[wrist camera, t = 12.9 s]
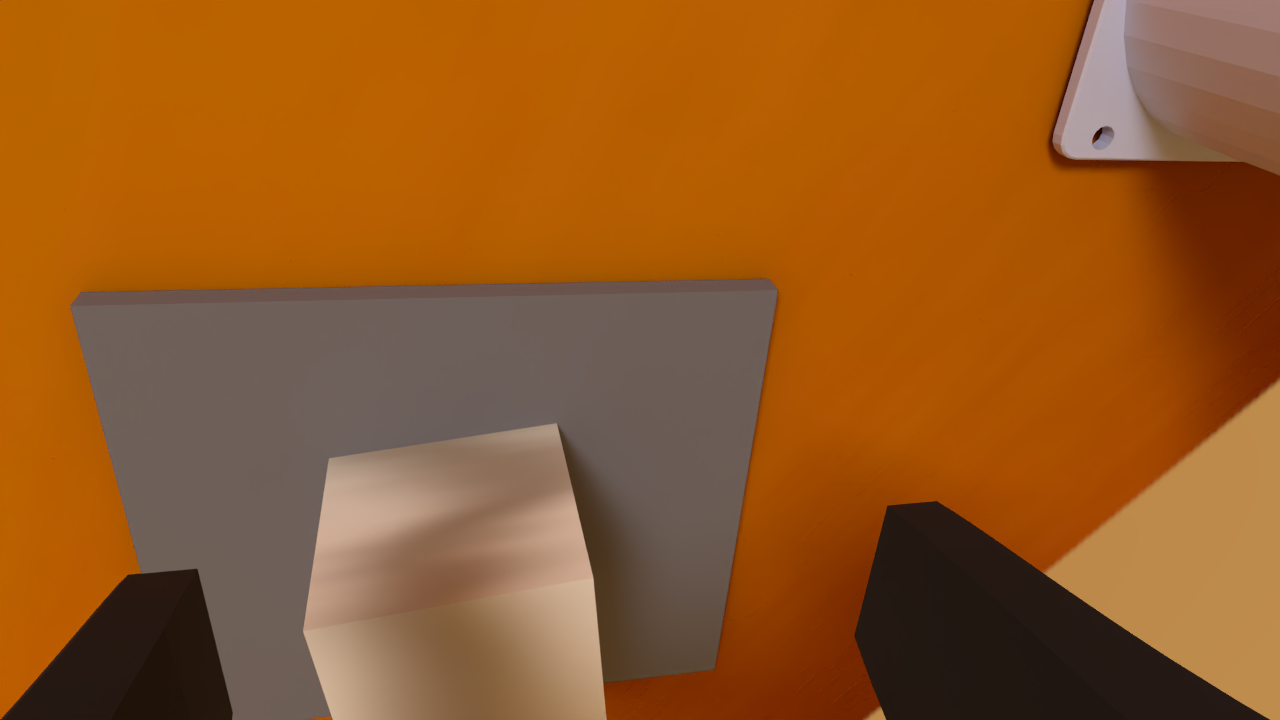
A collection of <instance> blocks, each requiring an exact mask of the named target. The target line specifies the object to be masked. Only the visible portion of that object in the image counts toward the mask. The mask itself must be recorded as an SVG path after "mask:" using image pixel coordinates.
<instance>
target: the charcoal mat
mask: <svg viewBox="0 0 1280 720" xmlns="http://www.w3.org/2000/svg"><path fill="white" fill-rule="evenodd" d="M777 294H778V289H777V288H776V287H775V286H774V284H773V283H772V282H771V281H770V279H737V280H686V281H634V282H583V283H532V284H480V285H429V286H378V287H326V288H275V289H224V290H172V291H121V292H81V293H80V294H79V295H78V297H77V298H76V299H75V300H74V302H73V303H72V304H71V306H70V307H71V311H72V315H73V318H74V322H75V326H76V330H77V333H78V337H79V341H80V345H81V348H82V352H83V356H84V360H85V363H86V367H87V371H88V375H89V378H90V382H91V386H92V390H93V394H94V397H95V401H96V405H97V409H98V412H99V416H100V420H101V424H102V427H103V431H104V435H105V439H106V442H107V446H108V450H109V454H110V457H111V461H112V465H113V469H114V473H115V476H116V480H117V484H118V488H119V491H120V495H121V499H122V503H123V506H124V510H125V514H126V518H127V521H128V525H129V529H130V533H131V536H132V540H133V544H134V548H135V552H136V555H137V559H138V563H139V567H140V570H141V574H143V573H154V572H165V571H176V570H187V569H198V573H199V577H200V581H201V585H202V589H203V593H204V597H205V601H206V605H207V609H208V613H209V617H210V622H211V626H212V630H213V634H214V638H215V642H216V646H217V650H218V654H219V658H220V662H221V666H222V670H223V674H224V679H225V683H226V687H227V691H228V695H229V699H230V703H231V707H232V711H233V716H232V720H303V719H312V718H320V717H328V716H331V713H330V710H329V707H328V704H327V701H326V698H325V695H324V692H323V689H322V686H321V683H320V680H319V677H318V674H317V671H316V668H315V665H314V662H313V659H312V656H311V653H310V650H309V648H308V645H307V642H306V639H305V636H304V633H303V628H304V621H305V615H306V608H307V601H308V595H309V588H310V581H311V575H312V568H313V561H314V554H315V548H316V541H317V534H318V528H319V521H320V514H321V508H322V501H323V494H324V488H325V481H326V474H327V468H328V461H329V458H335V457H341V456H348V455H354V454H361V453H367V452H374V451H380V450H387V449H393V448H400V447H406V446H413V445H419V444H426V443H432V442H439V441H445V440H452V439H458V438H464V437H471V436H477V435H484V434H490V433H497V432H503V431H510V430H516V429H523V428H529V427H536V426H542V425H549V424H555V423H557V426H558V430H559V434H560V439H561V443H562V447H563V451H564V455H565V460H566V464H567V468H568V472H569V477H570V481H571V485H572V489H573V494H574V498H575V502H576V506H577V511H578V515H579V519H580V523H581V528H582V532H583V536H584V540H585V544H586V549H587V553H588V557H589V561H590V566H591V570H592V574H593V579H594V590H595V601H596V612H597V622H598V633H599V644H600V655H601V666H602V676H603V683H610V682H618V681H626V680H634V679H643V678H651V677H659V676H667V675H676V674H684V673H692V672H701V671H709V670H715V665H716V659H717V653H718V647H719V641H720V635H721V629H722V623H723V617H724V611H725V605H726V599H727V593H728V587H729V581H730V575H731V569H732V563H733V557H734V551H735V545H736V539H737V533H738V527H739V521H740V515H741V509H742V503H743V497H744V491H745V485H746V479H747V473H748V467H749V461H750V455H751V449H752V443H753V437H754V431H755V425H756V419H757V414H758V408H759V402H760V396H761V390H762V384H763V378H764V372H765V366H766V360H767V354H768V348H769V342H770V336H771V330H772V324H773V318H774V312H775V306H776V300H777Z"/></svg>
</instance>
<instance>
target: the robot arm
mask: <svg viewBox="0 0 1280 720" xmlns="http://www.w3.org/2000/svg"><path fill="white" fill-rule="evenodd" d="M1101 127H1102V134H1101V136H1100V137H1099V139H1098V140H1097V141H1096V142H1095V143H1093V144H1092V138H1093V136H1094V134H1095V133H1096V131H1098V130H1099V129H1100V128H1101ZM1052 142H1053V145H1054V149H1055V150H1056V151H1057V152H1058V153H1059V154H1061V155H1063V156H1065V157H1067V158H1070V159H1074V160H1144V161H1220V162H1245V163H1248V164H1251V165H1253V166H1256V167H1258V168H1261V169H1264V170H1266V171H1269V172H1271V173H1274V174H1277V175H1279V176H1280V0H1094V2H1093V6H1092V9H1091V12H1090V15H1089V19H1088V22H1087V25H1086V29H1085V32H1084V35H1083V38H1082V42H1081V45H1080V48H1079V51H1078V55H1077V58H1076V61H1075V65H1074V68H1073V71H1072V74H1071V78H1070V81H1069V84H1068V87H1067V91H1066V94H1065V97H1064V101H1063V104H1062V107H1061V110H1060V114H1059V117H1058V120H1057V123H1056V127H1055V130H1054V134H1053V141H1052ZM855 639H856V642H857V644H858V647H859V650H860V653H861V655H862V658H863V661H864V664H865V666H866V669H867V672H868V675H869V677H870V680H871V683H872V685H873V688H874V690H875V693H876V695H877V698H878V700H879V703H880V705H881V708H882V710H883V713H884V715H885V718H886V720H1269V719H1268V718H1266V717H1264V716H1262V715H1261V714H1259V713H1257V712H1256V711H1254V710H1252V709H1250V708H1249V707H1247V706H1245V705H1244V704H1242V703H1240V702H1239V701H1237V700H1235V699H1234V698H1232V697H1231V696H1229V695H1227V694H1226V693H1224V692H1222V691H1221V690H1219V689H1218V688H1216V687H1215V686H1213V685H1211V684H1210V683H1208V682H1206V681H1205V680H1203V679H1202V678H1200V677H1198V676H1197V675H1195V674H1194V673H1192V672H1190V671H1189V670H1187V669H1185V668H1184V667H1182V666H1181V665H1179V664H1177V663H1176V662H1174V661H1173V660H1171V659H1170V658H1168V657H1166V656H1164V655H1163V654H1162V653H1160V652H1159V651H1157V650H1156V649H1154V648H1153V647H1151V646H1150V645H1148V644H1147V643H1145V642H1143V641H1142V640H1140V639H1139V638H1137V637H1136V636H1134V635H1133V634H1131V633H1130V632H1128V631H1127V630H1125V629H1124V628H1122V627H1121V626H1119V625H1118V624H1116V623H1115V622H1113V621H1112V620H1110V619H1109V618H1107V617H1106V616H1104V615H1103V614H1101V613H1100V612H1099V611H1097V610H1096V609H1094V608H1093V607H1091V606H1089V605H1088V604H1087V603H1085V602H1084V601H1082V600H1081V599H1080V598H1078V597H1077V596H1075V595H1074V594H1072V593H1070V592H1069V591H1068V590H1066V589H1065V588H1064V587H1062V586H1061V585H1059V584H1058V583H1056V582H1055V581H1053V580H1052V579H1050V578H1049V577H1048V576H1046V575H1045V574H1043V573H1042V572H1041V571H1039V570H1038V569H1036V568H1035V567H1033V566H1032V565H1031V564H1029V563H1028V562H1026V561H1025V560H1023V559H1022V558H1021V557H1019V556H1018V555H1016V554H1015V553H1013V552H1012V551H1011V550H1009V549H1008V548H1006V547H1005V546H1003V545H1002V544H1000V543H999V542H998V541H996V540H995V539H993V538H992V537H990V536H989V535H987V534H986V533H985V532H983V531H982V530H980V529H979V528H977V527H976V526H974V525H973V524H971V523H970V522H968V521H967V520H965V519H964V518H962V517H961V516H959V515H958V514H956V513H955V512H953V511H951V510H950V509H948V508H947V507H945V506H944V505H942V504H940V503H939V502H937V501H934V502H923V503H912V504H901V505H890V506H887V510H886V514H885V518H884V522H883V526H882V530H881V533H880V537H879V541H878V545H877V549H876V553H875V557H874V561H873V565H872V569H871V573H870V577H869V581H868V585H867V589H866V593H865V597H864V600H863V604H862V608H861V612H860V616H859V620H858V624H857V628H856V632H855ZM232 716H233V711H232V707H231V703H230V699H229V695H228V691H227V687H226V683H225V679H224V674H223V670H222V666H221V662H220V658H219V654H218V650H217V646H216V642H215V638H214V634H213V630H212V626H211V622H210V617H209V613H208V609H207V605H206V601H205V597H204V593H203V589H202V585H201V581H200V577H199V573H198V569H187V570H176V571H165V572H154V573H143V574H132V575H127V576H126V577H125V578H124V579H123V580H122V581H121V582H120V583H119V584H118V585H117V586H116V588H115V589H114V590H113V591H112V592H111V593H110V594H109V596H108V597H107V598H106V599H105V600H104V601H103V603H102V604H101V605H100V606H99V607H98V608H97V609H96V611H95V612H94V613H93V614H92V615H91V616H90V618H89V619H88V620H87V621H86V622H85V623H84V625H83V626H82V627H81V628H80V629H79V631H78V632H77V633H76V634H75V635H74V636H73V638H72V639H71V640H70V641H69V642H68V643H67V645H66V646H65V647H64V648H63V649H62V650H61V652H60V653H59V654H58V655H57V656H56V657H55V658H54V660H53V661H52V662H51V663H50V664H49V665H48V667H47V668H46V669H45V670H44V671H43V672H42V673H41V675H40V676H39V677H38V678H37V679H36V680H35V681H34V683H33V684H32V685H31V686H30V687H29V688H28V690H27V691H26V692H25V693H24V694H23V695H22V696H21V698H20V699H19V700H18V701H17V702H16V703H15V704H14V705H13V707H12V708H11V709H10V710H9V711H8V712H7V713H6V714H5V715H4V717H3V718H2V719H1V720H232Z"/></svg>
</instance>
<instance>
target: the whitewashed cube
mask: <svg viewBox="0 0 1280 720" xmlns="http://www.w3.org/2000/svg"><path fill="white" fill-rule="evenodd" d="M303 633H304V636H305V639H306V642H307V645H308V648H309V650H310V653H311V656H312V659H313V662H314V665H315V668H316V671H317V674H318V677H319V680H320V683H321V686H322V689H323V692H324V695H325V698H326V701H327V704H328V707H329V710H330V713H331V716H332V719H333V720H607V719H606V709H605V698H604V687H603V676H602V666H601V655H600V644H599V633H598V622H597V612H596V601H595V590H594V579H593V574H592V570H591V566H590V561H589V557H588V553H587V549H586V544H585V540H584V536H583V532H582V528H581V523H580V519H579V515H578V511H577V506H576V502H575V498H574V494H573V489H572V485H571V481H570V477H569V472H568V468H567V464H566V460H565V455H564V451H563V447H562V443H561V439H560V434H559V430H558V426H557V423H555V424H549V425H542V426H536V427H529V428H523V429H516V430H510V431H503V432H497V433H490V434H484V435H477V436H471V437H464V438H458V439H452V440H445V441H439V442H432V443H426V444H419V445H413V446H406V447H400V448H393V449H387V450H380V451H374V452H367V453H361V454H354V455H348V456H341V457H335V458H329V461H328V468H327V474H326V481H325V488H324V494H323V501H322V508H321V514H320V521H319V528H318V534H317V541H316V548H315V554H314V561H313V568H312V575H311V581H310V588H309V595H308V601H307V608H306V615H305V621H304V628H303Z"/></svg>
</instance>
